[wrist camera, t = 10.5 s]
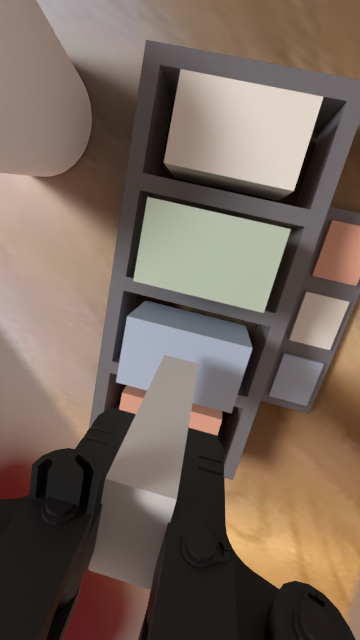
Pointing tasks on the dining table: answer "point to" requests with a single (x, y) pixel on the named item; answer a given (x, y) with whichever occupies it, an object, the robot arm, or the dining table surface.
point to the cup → (38, 96)
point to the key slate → (186, 351)
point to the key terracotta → (199, 417)
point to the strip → (318, 314)
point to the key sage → (209, 254)
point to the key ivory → (239, 134)
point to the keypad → (303, 219)
